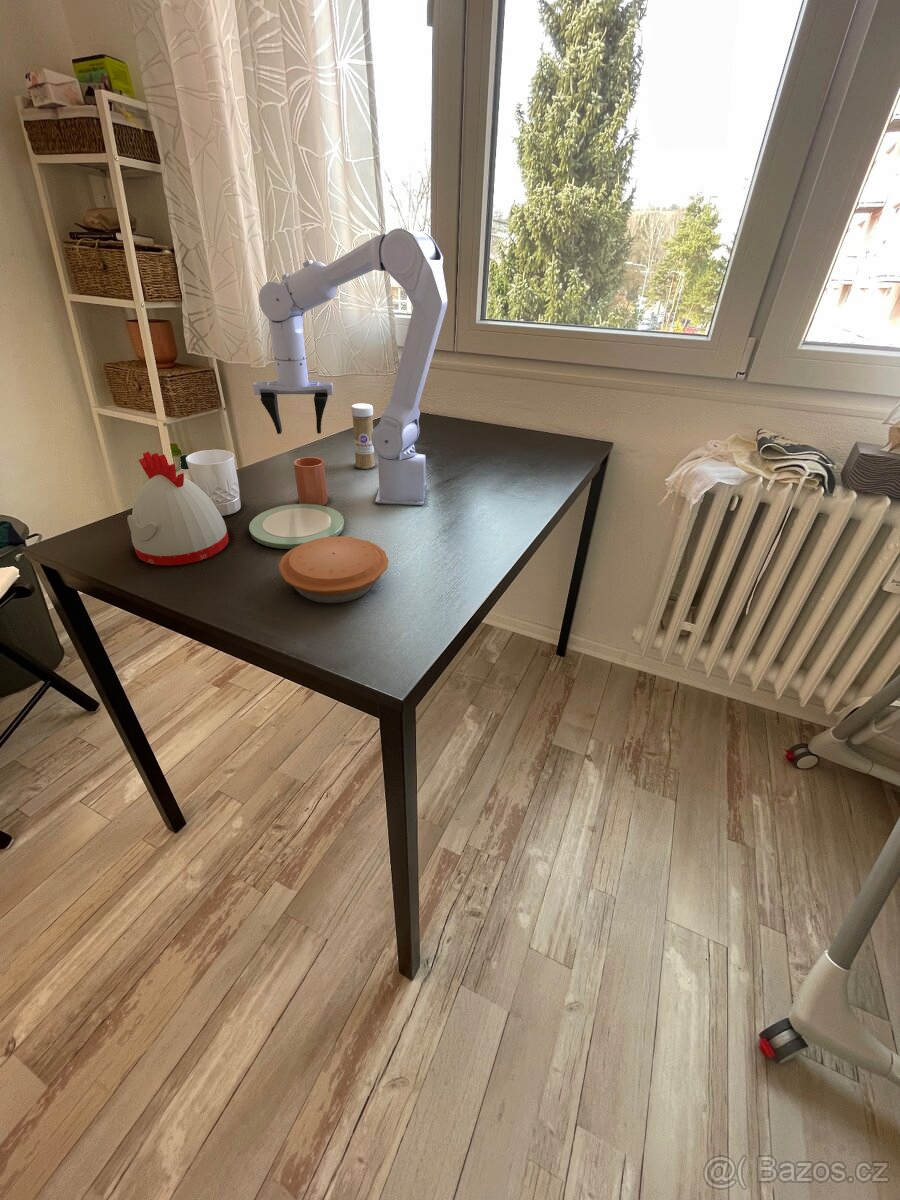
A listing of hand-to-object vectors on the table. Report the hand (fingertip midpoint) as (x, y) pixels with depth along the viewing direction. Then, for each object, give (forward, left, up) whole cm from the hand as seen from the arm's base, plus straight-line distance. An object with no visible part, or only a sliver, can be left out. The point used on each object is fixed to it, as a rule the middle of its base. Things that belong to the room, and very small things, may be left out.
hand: (299, 432), depth 102 cm
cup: (-4, +10, -10) cm, 15 cm away
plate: (-4, +22, -10) cm, 25 cm away
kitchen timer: (+13, +29, -11) cm, 33 cm away
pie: (-14, +39, -11) cm, 43 cm away
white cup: (+12, +15, -11) cm, 22 cm away
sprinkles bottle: (-11, -11, -11) cm, 19 cm away
